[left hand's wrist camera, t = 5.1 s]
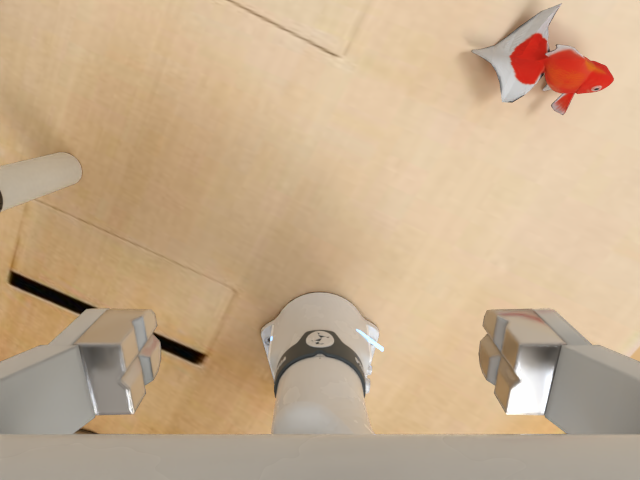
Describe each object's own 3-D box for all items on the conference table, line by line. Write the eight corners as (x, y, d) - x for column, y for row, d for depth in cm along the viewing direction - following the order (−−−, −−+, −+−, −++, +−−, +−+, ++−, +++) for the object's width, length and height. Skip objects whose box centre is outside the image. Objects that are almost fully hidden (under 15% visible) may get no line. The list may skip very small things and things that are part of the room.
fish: (557, 154, 51) (594, 116, 42) (449, 96, 55) (460, 49, 46) (604, 86, 52) (652, 33, 42) (493, 33, 56) (514, -26, 46)
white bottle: (85, 184, 58) (-7, 221, 41) (53, 185, 58) (-52, 222, 41) (78, 151, 56) (-21, 176, 40) (45, 152, 56) (-68, 177, 40)
